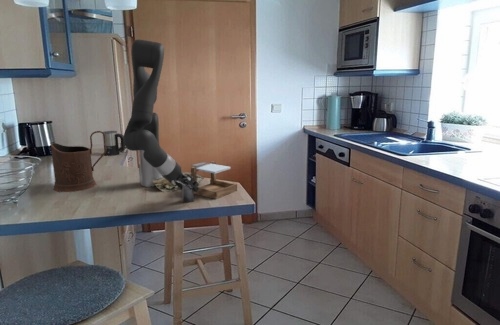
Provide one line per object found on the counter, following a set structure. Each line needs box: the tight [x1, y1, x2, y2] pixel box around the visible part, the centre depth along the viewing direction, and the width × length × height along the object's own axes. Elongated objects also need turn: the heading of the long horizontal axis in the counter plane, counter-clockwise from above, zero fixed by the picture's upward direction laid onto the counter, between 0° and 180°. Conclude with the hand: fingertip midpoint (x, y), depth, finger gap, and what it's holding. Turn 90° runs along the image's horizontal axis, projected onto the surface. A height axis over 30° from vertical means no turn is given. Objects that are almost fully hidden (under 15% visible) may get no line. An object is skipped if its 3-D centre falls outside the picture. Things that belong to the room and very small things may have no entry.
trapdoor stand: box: [190, 160, 238, 200], centre depth 163 cm, size 15×14×12 cm
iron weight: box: [181, 176, 195, 203], centre depth 152 cm, size 4×4×10 cm
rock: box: [152, 172, 205, 192], centre depth 173 cm, size 23×7×15 cm
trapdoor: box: [190, 161, 232, 175], centre depth 163 cm, size 15×10×2 cm
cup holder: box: [50, 130, 106, 193], centre depth 172 cm, size 18×24×25 cm
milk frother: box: [102, 130, 127, 156], centre depth 245 cm, size 14×16×15 cm
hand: (189, 188), depth 153 cm, fingers open, 8 cm apart
